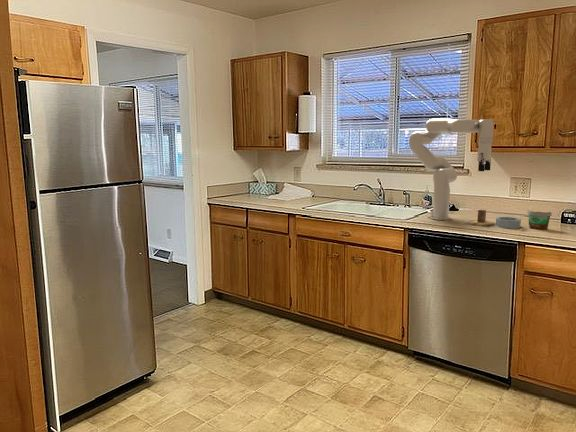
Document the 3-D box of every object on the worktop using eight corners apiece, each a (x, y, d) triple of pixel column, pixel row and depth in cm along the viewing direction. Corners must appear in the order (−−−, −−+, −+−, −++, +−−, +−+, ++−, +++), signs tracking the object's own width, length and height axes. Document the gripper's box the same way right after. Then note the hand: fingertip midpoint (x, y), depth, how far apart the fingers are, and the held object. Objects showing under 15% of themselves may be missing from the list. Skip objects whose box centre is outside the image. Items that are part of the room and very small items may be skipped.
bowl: (493, 227, 269) (493, 218, 268) (500, 224, 278) (501, 216, 277) (515, 230, 261) (516, 221, 260) (522, 227, 270) (522, 218, 269)
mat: (462, 225, 276) (462, 224, 276) (472, 221, 287) (472, 220, 287) (488, 228, 266) (488, 227, 266) (497, 224, 277) (497, 223, 277)
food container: (524, 228, 265) (526, 211, 263) (526, 227, 270) (527, 209, 269) (549, 231, 258) (551, 213, 257) (550, 229, 263) (552, 211, 262)
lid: (465, 224, 276) (466, 210, 275) (474, 220, 286) (475, 207, 284) (488, 227, 267) (489, 212, 266) (497, 223, 277) (498, 210, 275)
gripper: (484, 141, 280) (483, 169, 283) (473, 141, 267) (472, 171, 270) (497, 140, 275) (496, 170, 278) (486, 141, 262) (485, 171, 265)
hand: (484, 170), depth 274 cm, fingers open, 9 cm apart
